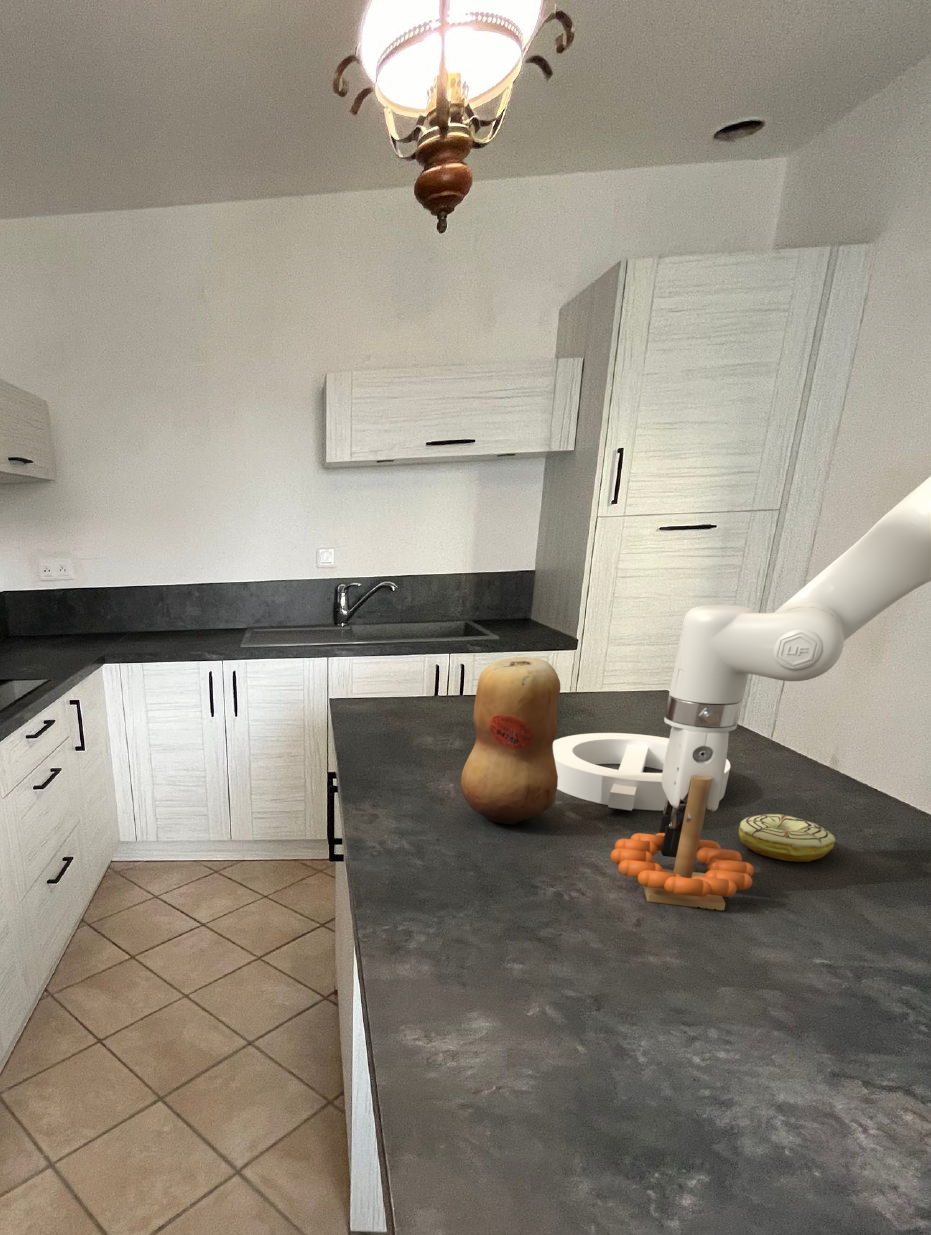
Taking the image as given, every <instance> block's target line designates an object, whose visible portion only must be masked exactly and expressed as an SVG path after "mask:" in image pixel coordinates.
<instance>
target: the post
mask: <svg viewBox="0 0 931 1235" xmlns="http://www.w3.org/2000/svg"><path fill="white" fill-rule="evenodd" d="M711 782H712V777H710V776H700V775H692V779H691V784H690V789H689V794H688V799H687V805H686V810H685V815H684V820H683V825H682V830H681V835H680V840H679V845H678V850H677V855H676V858H675V861H674V866H673V869H669V868H662V869H663V872H668V873H676V874H679V875H680V876H682V877H684V878H692V877H695V876H702V877H704V875H705V873H706V872H705V873H704V872H698V871H697V872H696V871H694V869H695V864H696V859H697V857H696V854H697V849H698V844H699V840H700V839H701V833H702V829H703V824H704V820H705V815H706V810H707V808H706V806H707V801H708V796H709V791H710V786H711ZM688 812H689V815H690V817H691V818H692V820H691V821H689V822H686V820H687V815H688ZM642 887H643V891H644V894H645V898H646V901H647V902H649V903H657V904H665V905H666V904H667V905H673V906H681V907H689V908H697V907H700V908H699V909H706V908H707V910H714V909H716V910H715V911H722V910H723V912H724V911H725V908H726V901H725V899H724V898H723V897H724V896H716V895H707V896H704V897H699V896H691V895H683V894H675V893H670V892H668V891H666V890H665V889H660V888H652V887H645V886H642Z"/></svg>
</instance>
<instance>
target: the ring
mask: <svg viewBox="0 0 931 1235" xmlns="http://www.w3.org/2000/svg"><path fill="white" fill-rule="evenodd" d="M664 835H665V833H659V832H657V833H655V834H650V833H643V832H642V833H641V832H637V833H633V834H632V835H631V836H630V838H620V839H618V840H616V841H615V843H614V849H613V850H612V851H611V852H610V860H611V861H612V862H613V863H614V864H616V865H618V871H619V873H620V874H621V875H623V876H624V877H633V878H637V881H638V883H639V884H640V885H641V886H642V887H643V886H645V887H652V888H660V889H665V890H666V891H668V892H670V893H675V894H683V895H691V896H699V897H704V896H707V895H716V896H722V897H724V898H729V897H732V896H734V895H735V894H736V893H737V890H738V891H739V890H740V891H744V890H745V891H746V890H749V889H750V888H751V887H752V885H753V879H752V876H753V875H754V873H755V868H754V866H753V865H752V864H751V863H750V862H747V861H743V856H742V854H741V853H740V852H739V851H737V850H734V849H725V848H721V846H720V844H719V843H718V842H717V841H715V840H711V839H709V840H708V839H701V838H700V840H699V844H698V849H697V854H696V859H697V860H698V862H700V863H702V864H706V870H707V871H706V872H705V875H704V877H702V876H695V877H692V878H684V877H682V876H680V875H679V874H676V873H668V872H663V869H664V868H663V866H661V864H659V863H657V862H654V861H655V858H654V856H655V855H657V853H658V852H661V850H662V845H663V840H664Z"/></svg>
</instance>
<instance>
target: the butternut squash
mask: <svg viewBox="0 0 931 1235" xmlns="http://www.w3.org/2000/svg"><path fill="white" fill-rule="evenodd" d="M560 693H561V681H560V678H559V676H558V673H557V671H556V669H555V668H554V667H553V666H552V664H551V663H549V662H548V661H547V660H544V659H541V658H537V657H536V658H534V657H528V656H516V657H509V658H504V659H500V660H496V661H495V662H493V663H491V664H490V665H488V666H487V667H485V668H484V670H482V672H481V673H480V675H479V678H478V681H477V686H476V692H475V699H474V706H473V726H474V731H475V741H474V746H473V748H472V750H471V751H470V753H469V754H468V757H467V759H466V762H465V764H464V766H463V769H462V772H461V777H460V789H461V793H462V796H463V798H464V800H465V801H466V803H467V804H468V806H469V807H470V808H471V809H472V810H473V811H474V812H475V813H478V814H479V815H481V816H483V817H485V818H487V819H488V820H489V821H490V822H494V823H497V824H503V825H515V824H517V823H520V822H522V821H525V820H528V819H531V818H534V817H535V818H536V817H539V816H542V815H543V814H544V813H545V812H546V811H548V810H549V809H550V808H552V807H553V805H555V804H556V793H557V790H558V789H557V786H558V775H557V769H556V764H555V759H554V754H553V742H554V741H555V740H556V738H557V736H558V724H557V715H558V714H557V708H558V701H559V696H560Z"/></svg>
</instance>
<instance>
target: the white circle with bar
mask: <svg viewBox="0 0 931 1235" xmlns="http://www.w3.org/2000/svg"><path fill="white" fill-rule="evenodd" d="M668 742H669V737H662V736H658V735H657V736H656V735H649V734H648V735H647V734H637V733H624V732H592V733H580V734H573V735H568V736H563V737H560V738H557V739H555V740H554V742H553V754H554V759H555V764H556V769H557V775H558V786H557V790H558V791H560V792H562V793H565V794H567V795H569V796H573V797H575V798H577V799H581V800H585V801H588V802H592V803H597V804H602V805H607V808H612V809H618V810H624V811H633V810H642V811H643V810H644V811H664V806H665V802H666V797H667V796H666V794H665V792H664V789H663V787H662V772H644V769H645V767H646V768H650V769H656V770H661V771H663V766H664V761H665V756H666V751H667V746H668ZM608 764H610V765H619V767H618V769H616V768H611V767H607V766H601V765H608ZM730 770H731V763H730V761H729V759H727V758H726V765H725V771H724V777H723V782H722V788H721V794H720V800H719V802H720V801H721V800H722V799H723V798H725V797H724V796H725V793H726V789H727V784H728V781H729V780H728V779H729V776H730Z"/></svg>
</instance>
